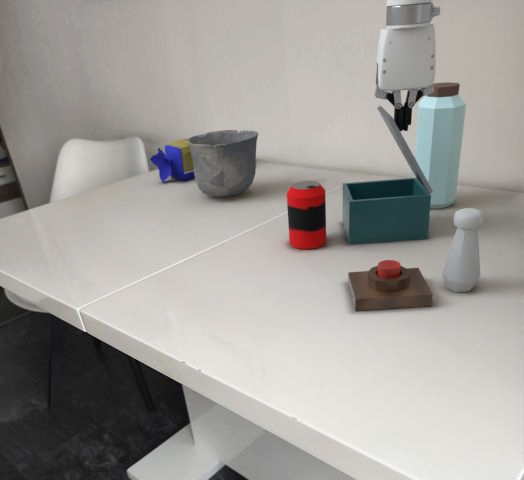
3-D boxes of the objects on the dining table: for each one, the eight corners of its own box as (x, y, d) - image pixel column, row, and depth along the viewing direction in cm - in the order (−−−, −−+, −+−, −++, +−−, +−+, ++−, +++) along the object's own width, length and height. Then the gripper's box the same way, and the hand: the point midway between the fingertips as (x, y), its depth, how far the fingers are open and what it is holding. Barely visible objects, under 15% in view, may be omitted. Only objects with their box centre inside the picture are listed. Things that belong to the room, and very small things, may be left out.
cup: (253, 181, 153) (248, 125, 145) (270, 198, 139) (266, 137, 130) (192, 191, 150) (183, 134, 142) (202, 209, 135) (193, 147, 127)
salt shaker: (461, 298, 86) (472, 219, 79) (433, 286, 90) (441, 211, 83) (485, 287, 89) (497, 210, 82) (457, 276, 93) (466, 202, 86)
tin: (349, 244, 109) (349, 201, 104) (342, 223, 119) (342, 183, 115) (427, 239, 108) (431, 195, 103) (413, 217, 118) (416, 177, 114)
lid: (388, 119, 96) (392, 116, 96) (376, 107, 106) (380, 105, 106) (429, 194, 103) (433, 191, 103) (415, 176, 113) (418, 174, 113)
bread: (238, 166, 169) (234, 132, 163) (171, 186, 156) (165, 149, 151) (219, 162, 176) (215, 129, 170) (153, 181, 163) (147, 145, 157)
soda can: (303, 253, 107) (301, 193, 100) (282, 243, 112) (278, 185, 106) (333, 243, 110) (333, 184, 103) (311, 233, 116) (309, 177, 109)
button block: (417, 279, 93) (419, 257, 91) (431, 306, 85) (434, 283, 83) (348, 283, 94) (348, 262, 92) (355, 311, 86) (355, 288, 83)
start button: (397, 269, 89) (398, 259, 88) (402, 278, 86) (402, 268, 85) (375, 270, 89) (376, 260, 88) (379, 279, 86) (379, 269, 85)
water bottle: (448, 212, 119) (461, 88, 106) (404, 207, 124) (411, 88, 111) (460, 198, 126) (474, 80, 113) (418, 194, 131) (426, 81, 118)
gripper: (446, 12, 95) (436, 122, 105) (361, 20, 96) (360, 129, 106) (458, 13, 89) (447, 130, 99) (367, 22, 90) (365, 137, 100)
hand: (402, 129), depth 103 cm, fingers closed
